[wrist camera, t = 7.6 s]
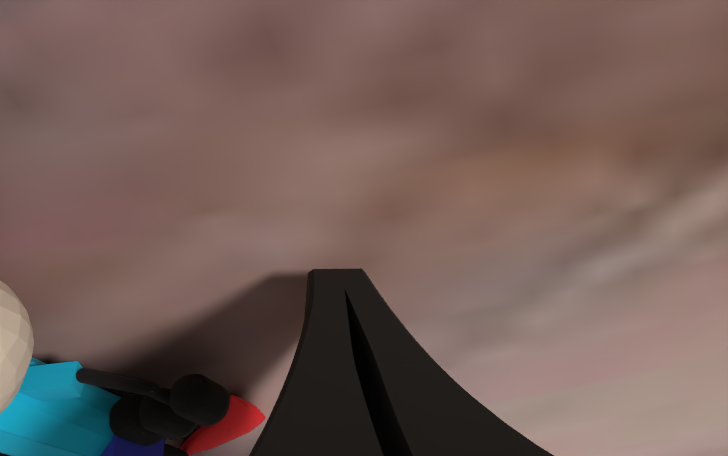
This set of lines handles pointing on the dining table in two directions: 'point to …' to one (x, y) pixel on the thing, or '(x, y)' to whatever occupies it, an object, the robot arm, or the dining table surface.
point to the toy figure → (103, 405)
